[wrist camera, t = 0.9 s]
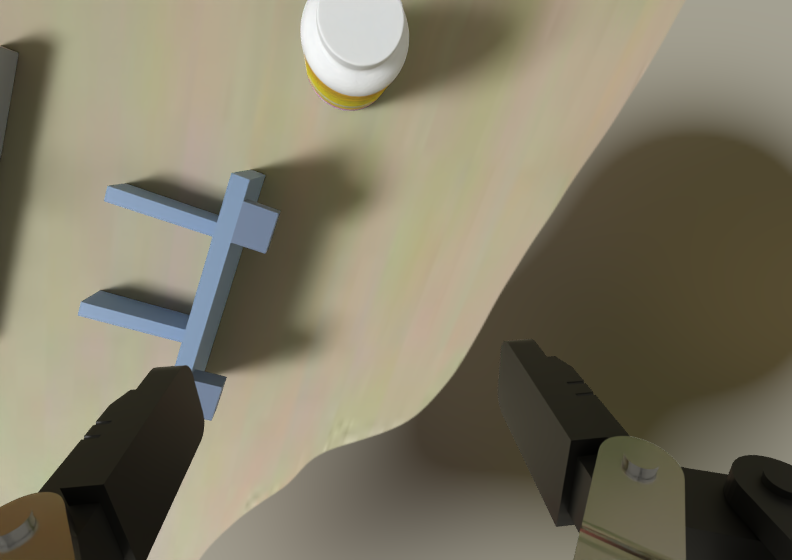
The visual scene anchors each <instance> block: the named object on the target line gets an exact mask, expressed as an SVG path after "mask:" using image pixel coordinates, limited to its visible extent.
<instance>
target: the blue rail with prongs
mask: <svg viewBox="0 0 792 560" xmlns="http://www.w3.org/2000/svg"><path fill="white" fill-rule="evenodd" d="M264 179H265V175H264V174H262V173H259V172H256V171H254V170H246V171H241V172H235V173H231V176H230V179H229V183H228V186H227V190H226V193H225V197H224V200H223V203H222V207H221V210H220V214H219V215H217V214H214V213H211V212H208V211H205V210H202V209H199V208H197V207H194V206H191V205H188V204H185V203H182V202H179V201H176V200H173V199H170V198H167V197H164V196H161V195H158V194H155V193H153V192H150V191H147V190H144V189H141V188H138V187H135V186H132V185H129V184H126V183H125V184H118V185H110V186H107V191H106V195H105V199H104V201H105V202H108V203H111V204H114V205H117V206H120V207H124V208H127V209H130V210H133V211H136V212H139V213H142V214H145V215H148V216H151V217H154V218H157V219H160V220H163V221H166V222H169V223H173V224H176V225H179V226H182V227H185V228H188V229H191V230H194V231H197V232H200V233H203V234H206V235H209V236H212V237H213V238H212V241H211V244H210V248H209V251H208V255H207V258H206V261H205V265H204V268H203V272H202V275H201V279H200V282H199V285H198V289H197V292H196V296H195V299H194V303H193V306H192V309H191V313H190V315H188V314H184V313H180V312H177V311H173V310H170V309H166V308H162V307H159V306H155V305H151V304H148V303H144V302H141V301H137V300H133V299H130V298H126V297H123V296H119V295H115V294H112V293H108V292H104V291H101V290H100V291H98V292H97V293H95V294H93V295H92V296H90V297H88V298H87V299H85V300H83V301H82V302H81V304H80V308H79V312H78V316H82V317H86V318H90V319H94V320H97V321H101V322H105V323H109V324H113V325H117V326H121V327H124V328H128V329H132V330H136V331H140V332H144V333H148V334H151V335H155V336H159V337H163V338H167V339H171V340H175V341H178V342H182V344H181V347H180V350H179V354H178V357H177V361H176V364H175V366H182V365H187V366H189V367H190V369H191V371H192V373H193V377H194V381H195V384H196V388H197V392H198V395H199V399H200V403H201V406H202V410H203V414H204V419H206V420H212V418H213V416H214V413H215V411H216V409H217V406H218V403H219V399H220V396H221V393H222V390H223V387H224V384H225V381H226V378H227V377H225V376H221V375H217V374H213V373H209V372H205V369H206V365H207V362H208V359H209V356H210V352H211V349H212V346H213V343H214V340H215V336H216V333H217V330H218V327H219V323H220V320H221V317H222V314H223V311H224V307H225V304H226V301H227V298H228V294H229V291H230V288H231V285H232V282H233V278H234V275H235V272H236V269H237V266H238V262H239V259H240V256H241V253H242V249H243V247H246V248H249V249H252V250H255V251H258V252H262V253H265V254H266V252H267V250H268V248H269V245H270V242H271V239H272V236H273V233H274V230H275V227H276V224H277V221H278V218H279V215H280V210H277V209H274V208H272V207H269V206H266V205H263V204H260V203H258V202H257V201H258V198H259V195H260V191H261V188H262V185H263V182H264Z"/></svg>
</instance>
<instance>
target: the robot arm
mask: <svg viewBox="0 0 792 560" xmlns="http://www.w3.org/2000/svg"><path fill="white" fill-rule="evenodd" d="M498 400H499V405H500V409H501V412H502V414H503V417H504V419H505V421H506V423H507V424H508V427H509V429H510V431H511V433H512V435H513V437H514V439H515V442H516V444H517V446H518V448H519V450H520V452H521V454H522V456H523V458H524V460H525V462H526V465H527V467H528V469H529V471H530V473H531V475H532V477H533V479H534V481H535V483H536V486H537V488H538V490H539V492H540V494H541V496H542V498H543V500H544V502H545V504H546V506H547V508H548V510H549V513H550V515H551V517H552V519H553V521H554V523H555V525H556V526H557V527H558V526H567V525H575V526H576V528H577V530H578V532H579V537H578V542H577V546H576V551H575V555H574V559H573V560H792V465H790V464H787V463H785V462H782V461H779V460H776V459H773V458H769V457H764V456H758V455H748V456H742V457H739V458H737V459H736V460H735V461H734V462H733V464H732V466H731V469H730V472H729V474H728V475H727V474H720V473H714V472H708V471H701V470H695V469H689V468H684V467H680V465H679V464H678V463H677V461H676V460H675V459H674V458H673V457H672V456H671V455H670V454H669V453H667V452H666V451H664V450H663V449H662V448H660V447H658V446H656V445H655V444H652V443H650V442H648V441H645V440H643V439H639V438H635V437H630V436H629V435H628V433H627V432H626V431H625V430H624V429H623V427H622V426H621V425H620V424H619V423H618V422H617V420H616V419H615V418H614V417H613V415H612V414H611V413H610V412H609V411H608V409H607V408H606V407H605V406H604V405H603V403H602V402H601V401H600V400H599V399H598V397H597V396H596V395H593V391H592V390H591V389H590V388H589V387H588V385H587V384H586V383H585V384H584V381H583V379H582V378H581V377H580V376H579V374H578V373H577V372H576V371H575V370H574V368H573V367H571V366H570V365H568V364H567V363H565V362H563V361H562V360H560V359H558V358H557V357H556V356H551V357H547V356H546V355H545V354H544V352H543V351H542V350H541V348H540V347H539V346H538V344H537V343H536V342H535V341H534V340H533V339H524V340H511V341H504V342H503V343H502V346H501V354H500V367H499V380H498ZM203 432H204V414H203V410H202V406H201V403H200V399H199V395H198V392H197V388H196V384H195V381H194V377H193V373H192V371H191V369H190V367H189V366H187V365H182V366H170V367H157V368H153V369H152V370H151V371H150V372H149V373H148V375H147V376H146V377H145V379H144V380H143V381H142V382H141V384H140V385H139V386H138V388H137V389H136V390H130V391H128V392H127V393H126V394H124V395H123V396H121V397H120V398H119V399H117V400H116V401H115V402H113V403H112V404H110V405H109V406H108V408H107V409H106V410H105V411H104V413H103V414H102V415H101V416H100V417H99V419H98V420H97V421H96V425H93V426H92V427H91V428H90V430H89V431H88V432H87V433H86V435H85V436H84V440H81V441H80V442H79V443H78V444H77V446H76V447H75V448H74V449H73V450H72V452H71V453H70V454H69V455H68V457H67V458H66V459H65V460H64V461H63V463H62V464H61V465H60V466H59V468H58V469H57V470H56V471H55V472H54V474H53V475H52V476H51V477H50V478H49V480H48V481H47V482H46V483H45V485H44V486H43V487H42V488H41V489H40V491H39V492H38V493H34V494H30V495H26V496H23V497H21V498H18V499H16V500H13V501H11V502H9V503H7V504H5V505H3V506H2V507H0V560H146V559H147V557H148V555H149V553H150V551H151V548H152V546H153V544H154V542H155V540H156V538H157V535H158V533H159V531H160V529H161V527H162V524H163V522H164V520H165V518H166V516H167V514H168V511H169V509H170V507H171V505H172V503H173V501H174V498H175V496H176V494H177V492H178V490H179V487H180V485H181V483H182V481H183V479H184V477H185V474H186V472H187V470H188V468H189V466H190V464H191V461H192V459H193V457H194V455H195V453H196V451H197V448H198V446H199V444H200V442H201V439H202V436H203Z"/></svg>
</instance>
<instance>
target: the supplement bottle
mask: <svg viewBox="0 0 792 560" xmlns="http://www.w3.org/2000/svg"><path fill="white" fill-rule="evenodd" d="M301 42H302V47H303V52H304V58H305V65H306V71H307V75H308V78H309V81H310V83H311V86H312V87H313V89H314V91H315V92H316V93H317V95H318V96H319V97H320V98H321V99H322V100H323V101H324V102H326V103H327V104H328V105H330V106H332V107H334V108H337V109H340V110H345V111H355V110H360V109H363V108H365V107H367V106H369V105H371V104H372V103H373V102H374V101H376V100H377V99H378V98H379V97H380V95H381V94H382V93H383V92H384V91H385V89H386V88H387V87H388V86H389V85H390V84H391V83H392V81H393V80H394V79H395V78H396V77H397V75H398V74H399V72H400V71H401V69H402V67H403V65H404V62H405V60H406V56H407V53H408V47H409V28H408V22H407V18H406V15H405V12H404V10H403V5H402V2H401V0H307V2H306V5H305V7H304V10H303V14H302V19H301Z"/></svg>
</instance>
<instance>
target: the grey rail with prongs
mask: <svg viewBox="0 0 792 560" xmlns="http://www.w3.org/2000/svg"><path fill="white" fill-rule="evenodd" d="M18 54H19V53H18V52H15V51H13V50H10V49H8V48H5V47H2V46H0V159H1V153H2V147H3V142H4V136H5V130H6V124H7V118H8V113H9V107H10V101H11V95H12V89H13V84H14V78H15V72H16V66H17V60H18Z"/></svg>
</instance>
